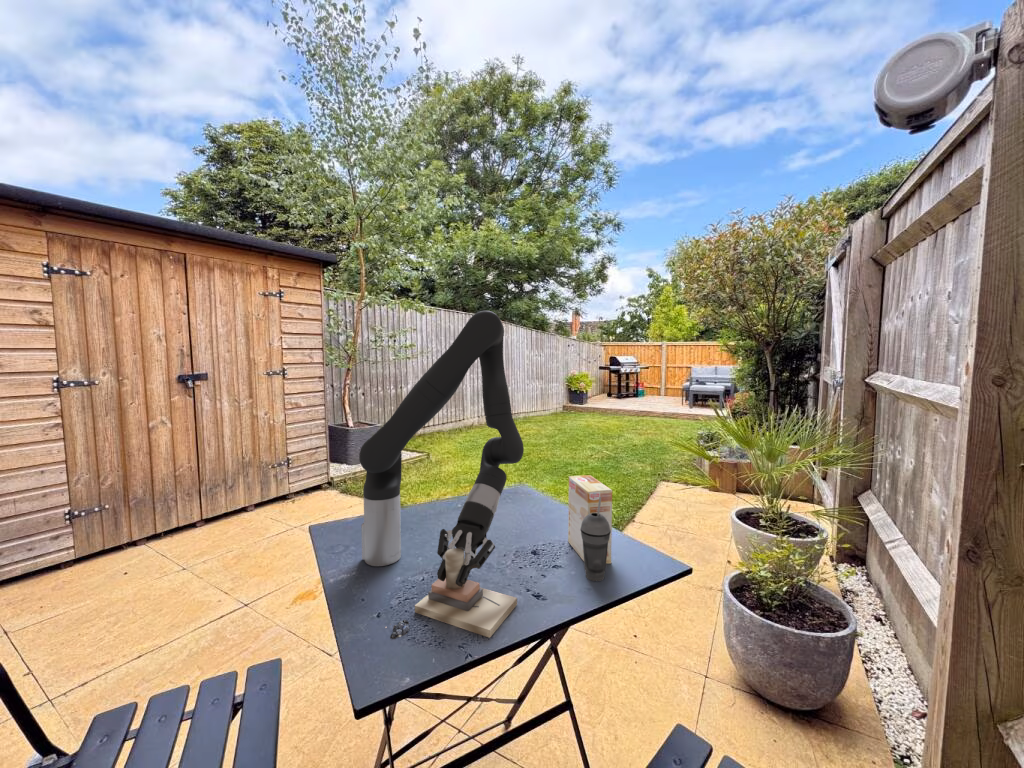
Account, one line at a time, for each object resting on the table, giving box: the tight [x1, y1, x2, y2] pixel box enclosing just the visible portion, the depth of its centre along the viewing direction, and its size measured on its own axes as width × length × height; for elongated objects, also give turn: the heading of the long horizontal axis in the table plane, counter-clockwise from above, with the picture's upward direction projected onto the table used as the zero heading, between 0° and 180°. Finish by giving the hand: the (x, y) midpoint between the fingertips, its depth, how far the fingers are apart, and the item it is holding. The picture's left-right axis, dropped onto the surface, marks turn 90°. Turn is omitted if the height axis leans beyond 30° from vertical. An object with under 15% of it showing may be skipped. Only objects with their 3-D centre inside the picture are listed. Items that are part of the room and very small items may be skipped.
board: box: [414, 587, 518, 638], centre depth 88 cm, size 18×12×2 cm, turn 64°
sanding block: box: [427, 547, 483, 611], centre depth 89 cm, size 10×6×10 cm, turn 64°
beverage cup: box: [580, 497, 611, 582], centre depth 101 cm, size 7×7×20 cm
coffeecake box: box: [567, 474, 613, 565], centre depth 114 cm, size 15×7×20 cm, turn 12°
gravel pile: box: [384, 618, 410, 640], centre depth 82 cm, size 7×8×2 cm
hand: (449, 582), depth 87 cm, fingers closed on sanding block, 4 cm apart
